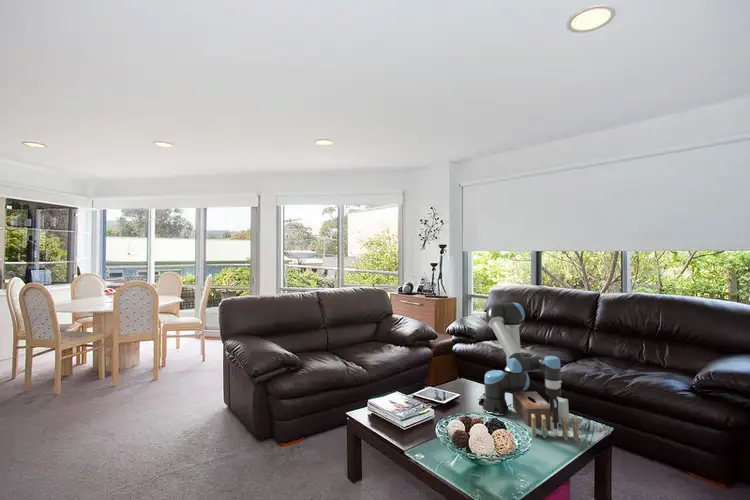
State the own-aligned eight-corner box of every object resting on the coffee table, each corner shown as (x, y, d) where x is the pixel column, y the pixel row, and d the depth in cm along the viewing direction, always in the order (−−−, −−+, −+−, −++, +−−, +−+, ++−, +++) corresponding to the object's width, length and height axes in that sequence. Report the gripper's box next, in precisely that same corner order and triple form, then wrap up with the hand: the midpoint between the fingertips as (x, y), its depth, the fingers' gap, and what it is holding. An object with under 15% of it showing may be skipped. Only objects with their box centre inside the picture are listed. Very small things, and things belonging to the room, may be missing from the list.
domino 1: (532, 436, 204) (532, 417, 204) (531, 432, 209) (531, 413, 209) (536, 437, 204) (535, 417, 204) (535, 432, 209) (534, 414, 209)
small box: (569, 422, 220) (568, 399, 220) (563, 426, 216) (563, 402, 216) (555, 418, 226) (554, 395, 226) (549, 421, 222) (548, 398, 222)
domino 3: (564, 439, 200) (563, 420, 200) (562, 435, 205) (562, 416, 205) (567, 440, 200) (567, 420, 200) (566, 435, 204) (565, 416, 204)
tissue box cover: (554, 426, 216) (553, 408, 216) (527, 426, 217) (527, 408, 217) (536, 407, 242) (535, 391, 242) (512, 408, 243) (512, 392, 243)
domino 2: (543, 437, 203) (542, 418, 203) (542, 433, 208) (541, 414, 208) (546, 438, 202) (545, 418, 202) (545, 433, 207) (544, 414, 207)
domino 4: (575, 441, 199) (574, 421, 199) (573, 436, 203) (572, 417, 204) (578, 441, 198) (578, 421, 198) (576, 436, 203) (576, 417, 203)
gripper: (564, 393, 194) (565, 440, 194) (558, 381, 211) (559, 425, 211) (547, 392, 196) (549, 439, 196) (543, 381, 214) (544, 424, 213)
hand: (554, 431), depth 204 cm, fingers closed on terracotta domino, 5 cm apart
